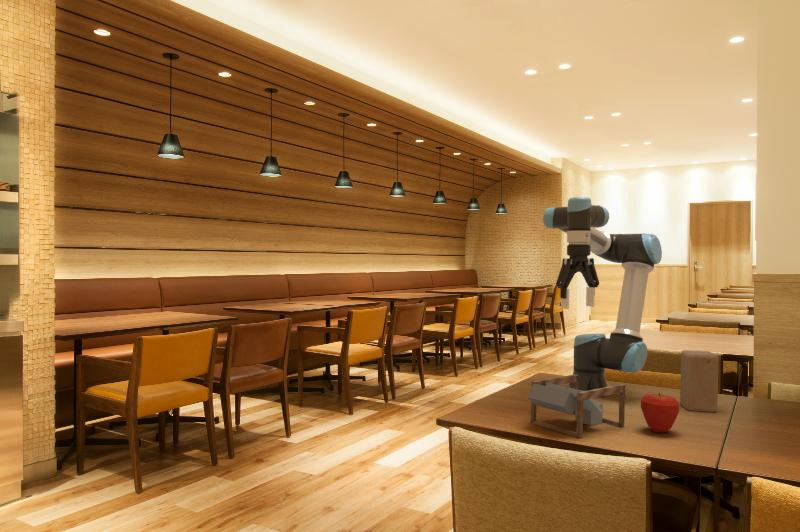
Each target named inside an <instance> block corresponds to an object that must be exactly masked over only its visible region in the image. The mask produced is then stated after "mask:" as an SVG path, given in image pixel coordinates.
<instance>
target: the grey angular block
mask: <svg viewBox="0 0 800 532" xmlns="http://www.w3.org/2000/svg"><path fill="white" fill-rule="evenodd" d="M578 392H583V391H581V390H577V389H573V388H569V386H568V387H567V386H564V385H556V384H551V383H547V382H545V384H544V385H540V384H535V383H534V384H533V386H532V388H530V389H529V392H528V394H527V395H526V397H527V399H529V400H530V402H531V401H532V402H533V403H534V404H535V405H536V407H540V408H545V409H547V410H548V409H549V410H552V411H555V412H559V413H561V414H562V413H563V414H565V415H569V416H573V415H574V414H573V412H574V410H575V408H576V407H577V393H578ZM597 403H598V402H596V401H595V400H594V398H592V399H587V400H583V409H586V410H590V411H594V412H598V413H601V414H603V415H604V412H605V410H604V408H603V409H602V408H601V407H600V406H599V405H598V404H597Z"/></svg>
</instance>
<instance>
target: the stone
mask: <svg viewBox="0 0 800 532" xmlns="http://www.w3.org/2000/svg"><path fill="white" fill-rule="evenodd" d="M596 403H597V404H598V405H599V406H600V407H601V408H602V409H603V410H604V403H600V402H596ZM574 415H575V416H574V417H575V418H574V421H575V422H577V407H576V408H575V414H574ZM603 415H604V413H603V414H601V413H598V412H594V411H590V410H586V409H583V425H584V424H585V425H588V426H595V425H599V424H602V423H604V422H603V418H604V417H603Z"/></svg>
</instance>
